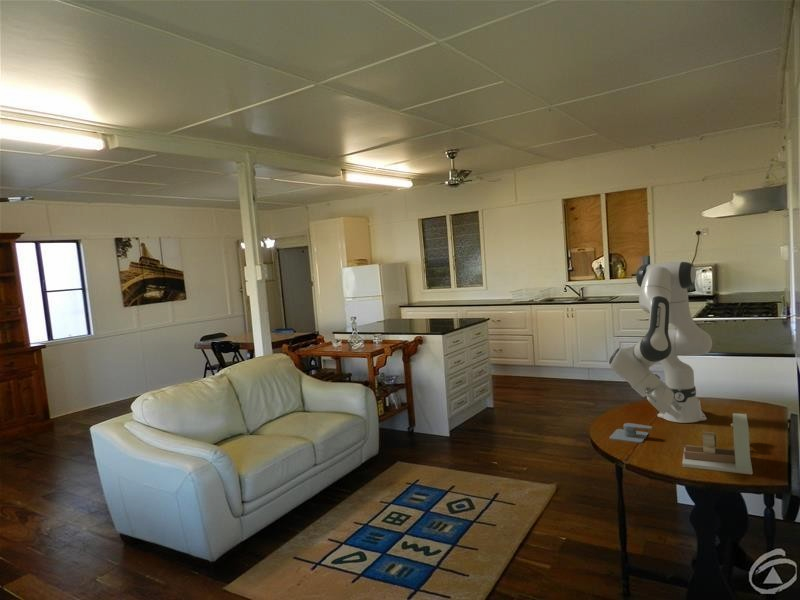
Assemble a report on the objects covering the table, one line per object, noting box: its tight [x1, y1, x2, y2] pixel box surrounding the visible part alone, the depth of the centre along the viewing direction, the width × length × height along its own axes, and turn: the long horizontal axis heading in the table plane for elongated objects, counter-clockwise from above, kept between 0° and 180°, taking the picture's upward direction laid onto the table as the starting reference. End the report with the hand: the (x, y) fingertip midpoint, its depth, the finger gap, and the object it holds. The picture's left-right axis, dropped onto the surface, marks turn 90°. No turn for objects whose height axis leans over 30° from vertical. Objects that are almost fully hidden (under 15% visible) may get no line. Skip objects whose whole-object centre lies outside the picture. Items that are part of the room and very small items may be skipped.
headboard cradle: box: [681, 413, 753, 475], centre depth 180 cm, size 16×20×15 cm
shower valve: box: [609, 422, 653, 444], centre depth 211 cm, size 12×6×15 cm
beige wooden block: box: [702, 431, 717, 454], centre depth 181 cm, size 4×4×8 cm
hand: (680, 413), depth 185 cm, fingers open, 8 cm apart
